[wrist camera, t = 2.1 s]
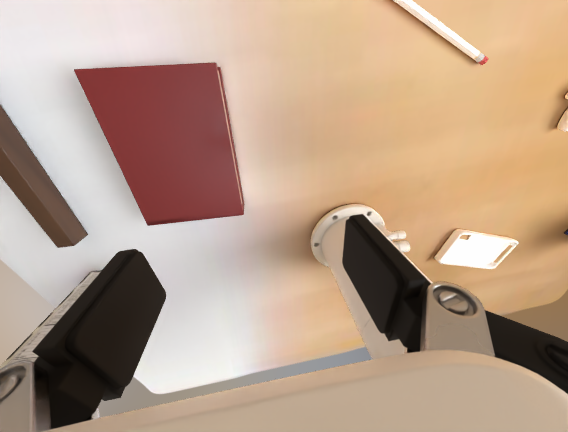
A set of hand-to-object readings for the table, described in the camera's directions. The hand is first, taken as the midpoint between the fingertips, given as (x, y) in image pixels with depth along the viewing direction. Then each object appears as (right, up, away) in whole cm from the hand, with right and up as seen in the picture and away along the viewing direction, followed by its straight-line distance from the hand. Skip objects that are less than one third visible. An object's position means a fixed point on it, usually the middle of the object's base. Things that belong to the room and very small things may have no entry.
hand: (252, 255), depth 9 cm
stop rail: (-27, +8, +13) cm, 31 cm away
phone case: (+39, -4, +31) cm, 50 cm away
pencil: (+16, +23, +12) cm, 30 cm away
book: (-11, +10, +15) cm, 21 cm away
